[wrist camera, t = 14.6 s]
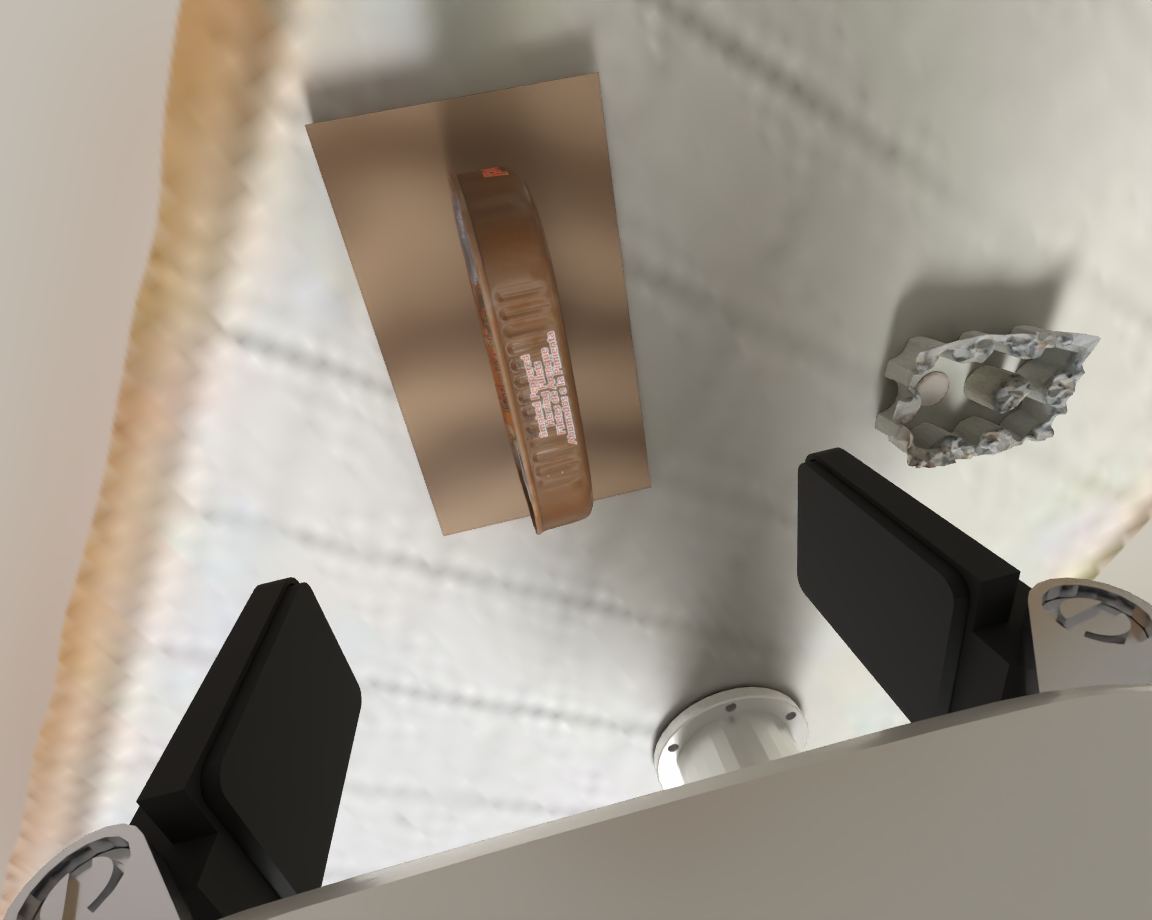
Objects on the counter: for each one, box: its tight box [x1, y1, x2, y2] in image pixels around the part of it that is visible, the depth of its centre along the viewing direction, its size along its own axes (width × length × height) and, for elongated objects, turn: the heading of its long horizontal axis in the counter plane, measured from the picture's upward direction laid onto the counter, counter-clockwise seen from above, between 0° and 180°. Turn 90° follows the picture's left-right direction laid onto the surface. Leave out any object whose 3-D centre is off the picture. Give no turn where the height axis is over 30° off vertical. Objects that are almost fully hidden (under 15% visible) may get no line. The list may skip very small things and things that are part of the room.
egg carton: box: [875, 325, 1101, 468], centre depth 33 cm, size 11×8×4 cm
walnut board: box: [305, 72, 651, 536], centre depth 28 cm, size 20×12×2 cm, turn 10°
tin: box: [448, 166, 593, 535], centre depth 24 cm, size 15×3×8 cm, turn 9°
